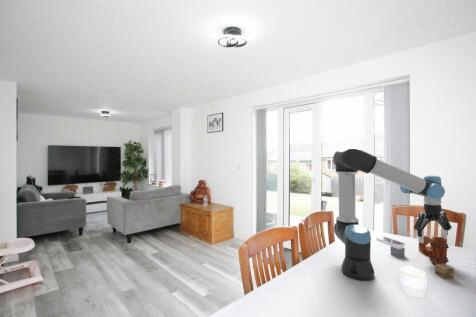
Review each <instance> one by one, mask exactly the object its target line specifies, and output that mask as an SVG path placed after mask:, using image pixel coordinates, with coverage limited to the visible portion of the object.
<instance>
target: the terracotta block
mask: <svg viewBox="0 0 476 317" xmlns="http://www.w3.org/2000/svg"><path fill="white" fill-rule="evenodd" d="M426 249H427V250H431V245H430V243H429V244H427V245H426ZM418 252H419V253H420V254H422V255H424V254H423V253H422V252H421V251H420V249H419V248H418Z"/></svg>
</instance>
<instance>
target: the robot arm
mask: <svg viewBox="0 0 476 317" xmlns="http://www.w3.org/2000/svg"><path fill="white" fill-rule="evenodd" d="M332 161H333V163H334V165H335V173H336V174H337V175H338V216H337V217H336V218H335V222H334V225H333V232H334V234H335V236H336V237H337V239H338V240H340V241H341V242H342V243H343V244H344V258H343V261H342V264H341V272H342V274H343V275H345V276H346V277H348V278H350V279H353V280H358V281H363V282H364V281H366V282H367V281H371V280H373V279H374V278H375V269H374V266H373V264H372V261H371V240H372V236H371V232H370V230H369V229H368V228H366V226H362V225H359V224H360V223H359V218H358V217H357V216H356V174H357V173H358V172H362V173H364V174H372V175H374V176H377V177H379V178H381V179H383V180H386V181H388V182H391V183H393V184H396V185H397V186H399V188H400V191H401V193H403V194H409V195H410V194H414V195H416V196H417V195H418V196H420V197H421V196H422V197H423V203H424V204H423V210H424V212H419V213H418V218H417V219H416V221H415V223H414V226H413V230H416V233H417V239H418V240H417V241H418V243H419V242H420V243H424V236H425V235H424V233H425V232H424V231H423V230H424V229H425V228H426V227H427V225H429V223H431V222H437V223H438V225H439V226H440V227H441V230H440V231H441V232H440V233H441V234H440V237H442V238H445V239H446V240H447V241H448V235H449V231H450V230H451V229H452V228H453V227H452V225H451V223H450V220H449V219H448V217H447V212H446V211H442V205H441V204H442V198H443V197H444V196H445V193H446V189H445V187H444V186H443V184H442V178H441V177H440V176H438V175H424V176H423V178H422V177H419V176H417V175H414V174H412V173H410V172H408V171H405V170H403V169H400V168H398V167H396V166H393V165H391V164H389V163H386V162H385V161H381V160H379V159H378V157H377V156H375V155H373V154H371V153H369V152H366V151H364V150H362V149H360V148H358V147H342V148H339V149H337V150H336V151H335V152H334V154H333V156H332Z"/></svg>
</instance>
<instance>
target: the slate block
mask: <svg viewBox="0 0 476 317" xmlns="http://www.w3.org/2000/svg"><path fill="white" fill-rule="evenodd" d="M405 250H406V249H405V247H403V246H400V245H397V244H394V245H390V255H392V256H394V257H397V258H401V257H402V258H403V257H405V252H406V251H405Z"/></svg>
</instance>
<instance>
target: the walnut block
mask: <svg viewBox="0 0 476 317" xmlns="http://www.w3.org/2000/svg"><path fill="white" fill-rule="evenodd" d="M434 264H435V263H434ZM434 266H435V269H434V273H435V275H437V276H438V277H440V278H442V279H444V280H451V279H452V280H454V279H455V268H454V267H452V266H450V265H448V264H447V263H446V264H435V265H434Z"/></svg>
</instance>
